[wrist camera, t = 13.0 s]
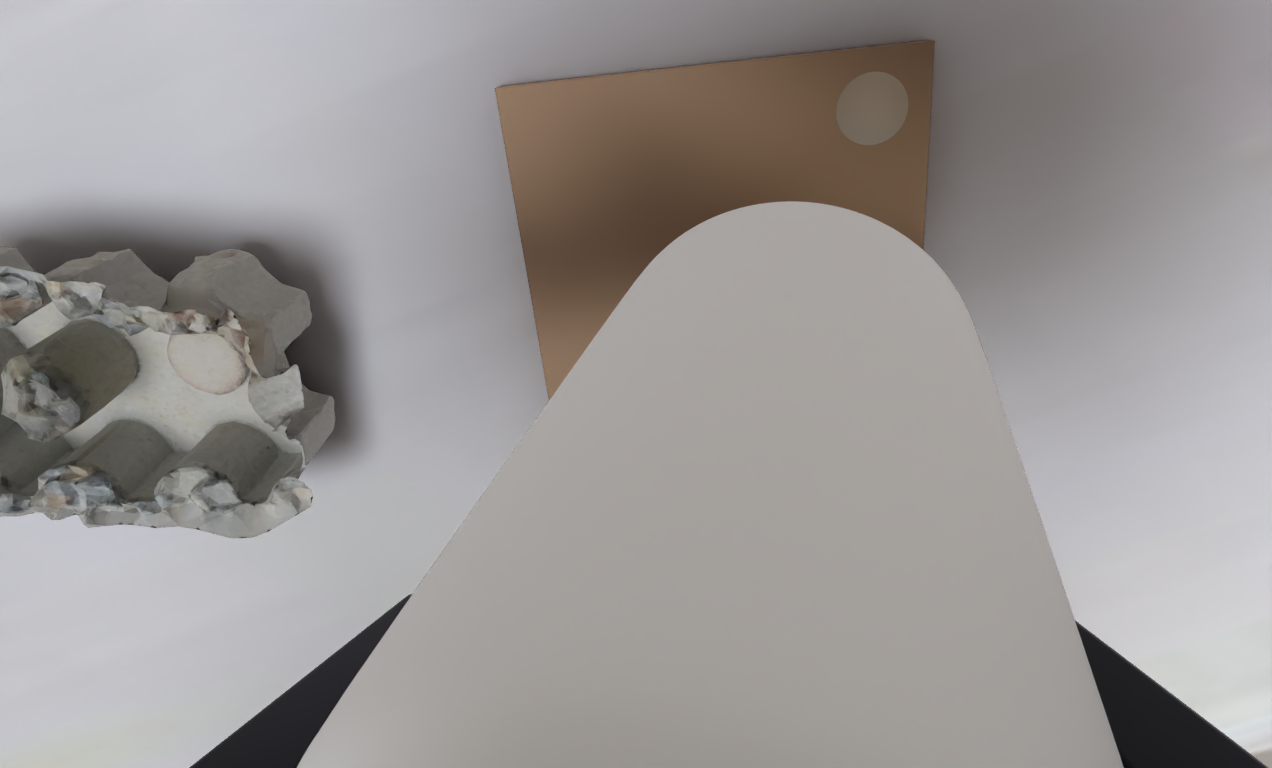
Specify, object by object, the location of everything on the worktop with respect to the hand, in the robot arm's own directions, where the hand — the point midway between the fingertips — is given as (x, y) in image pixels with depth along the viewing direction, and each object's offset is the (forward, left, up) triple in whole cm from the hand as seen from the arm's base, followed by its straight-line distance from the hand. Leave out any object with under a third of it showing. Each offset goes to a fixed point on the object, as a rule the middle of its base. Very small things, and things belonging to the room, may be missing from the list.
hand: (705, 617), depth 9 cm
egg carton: (+1, +17, -14) cm, 22 cm away
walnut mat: (0, 0, -13) cm, 13 cm away
